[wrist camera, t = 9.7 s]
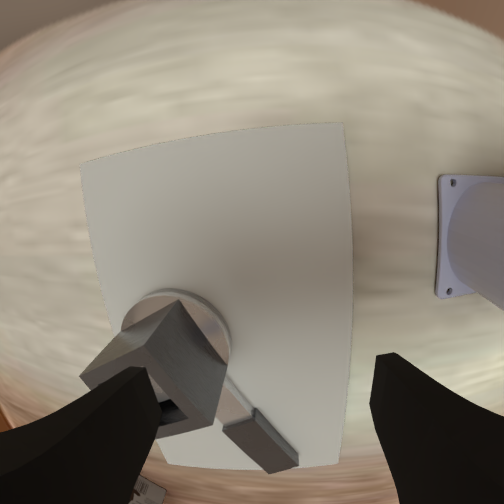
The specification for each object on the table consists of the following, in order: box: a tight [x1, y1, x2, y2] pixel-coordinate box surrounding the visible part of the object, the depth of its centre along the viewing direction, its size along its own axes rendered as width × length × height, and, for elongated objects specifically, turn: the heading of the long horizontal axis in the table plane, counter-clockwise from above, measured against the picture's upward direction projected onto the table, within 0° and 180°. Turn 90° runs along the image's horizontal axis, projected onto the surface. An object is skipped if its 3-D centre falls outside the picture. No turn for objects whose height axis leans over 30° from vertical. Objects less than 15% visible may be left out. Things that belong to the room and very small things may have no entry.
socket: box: [79, 299, 228, 439], centre depth 14 cm, size 5×5×5 cm
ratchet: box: [121, 288, 299, 474], centre depth 17 cm, size 7×18×5 cm, turn 31°
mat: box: [80, 122, 353, 470], centre depth 18 cm, size 16×27×1 cm, turn 6°
